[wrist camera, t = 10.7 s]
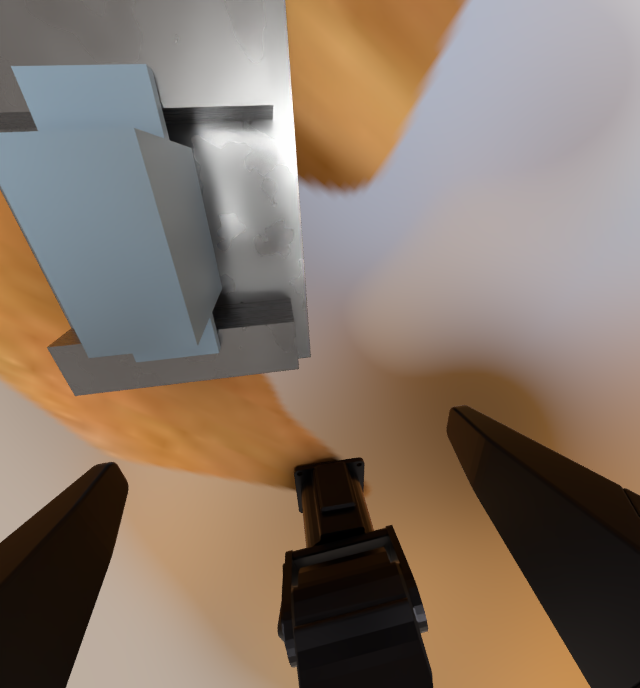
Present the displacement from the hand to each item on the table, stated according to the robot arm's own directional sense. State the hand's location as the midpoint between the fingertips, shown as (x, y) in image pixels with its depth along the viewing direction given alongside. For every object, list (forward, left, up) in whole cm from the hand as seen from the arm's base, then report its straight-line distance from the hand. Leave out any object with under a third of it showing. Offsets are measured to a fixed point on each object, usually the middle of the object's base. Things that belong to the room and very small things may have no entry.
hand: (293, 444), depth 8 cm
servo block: (+4, +5, -12) cm, 14 cm away
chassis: (+4, +5, -13) cm, 14 cm away
